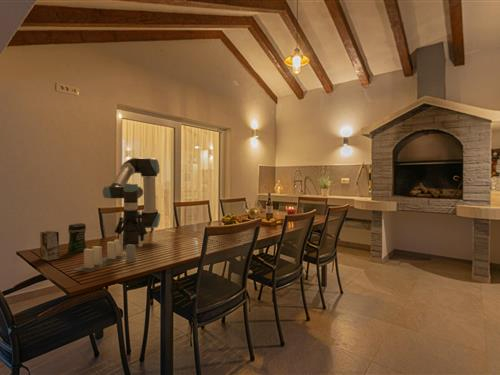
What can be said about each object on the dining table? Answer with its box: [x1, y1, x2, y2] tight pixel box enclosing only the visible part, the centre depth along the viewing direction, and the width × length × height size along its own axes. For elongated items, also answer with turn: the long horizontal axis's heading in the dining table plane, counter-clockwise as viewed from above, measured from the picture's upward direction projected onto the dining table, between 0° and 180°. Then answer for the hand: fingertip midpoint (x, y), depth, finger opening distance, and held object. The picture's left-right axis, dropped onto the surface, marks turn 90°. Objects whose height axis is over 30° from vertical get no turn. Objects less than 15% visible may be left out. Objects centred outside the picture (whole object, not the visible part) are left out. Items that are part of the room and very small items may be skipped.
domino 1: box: [83, 248, 94, 268], centre depth 143 cm, size 2×5×10 cm, turn 76°
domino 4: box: [113, 239, 124, 257], centre depth 164 cm, size 2×5×10 cm, turn 76°
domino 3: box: [106, 241, 116, 259], centre depth 159 cm, size 2×5×10 cm, turn 76°
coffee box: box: [39, 230, 60, 262], centre depth 158 cm, size 9×6×16 cm
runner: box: [71, 254, 126, 273], centre depth 152 cm, size 30×12×1 cm, turn 166°
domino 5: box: [125, 244, 136, 263], centre depth 155 cm, size 2×5×10 cm, turn 76°
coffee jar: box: [67, 223, 87, 254], centre depth 173 cm, size 10×8×19 cm
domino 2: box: [91, 245, 103, 265], centre depth 148 cm, size 2×5×10 cm, turn 76°
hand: (130, 245), depth 154 cm, fingers open, 13 cm apart
